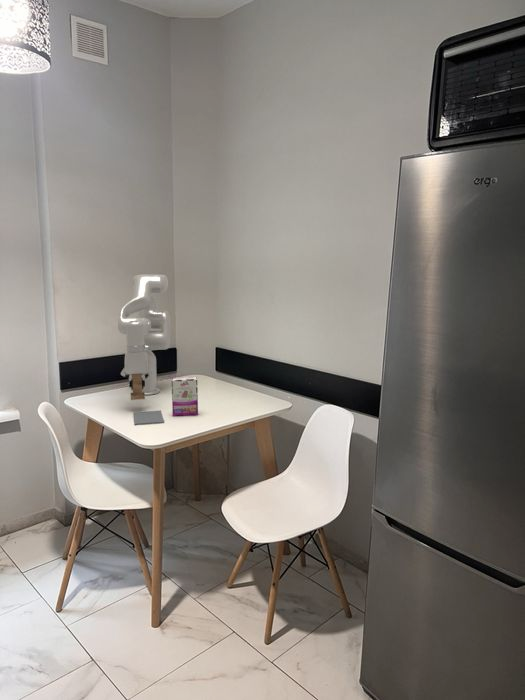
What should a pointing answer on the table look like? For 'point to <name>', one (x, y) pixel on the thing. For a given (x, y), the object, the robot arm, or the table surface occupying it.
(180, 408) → the candy bar box
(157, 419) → the mat
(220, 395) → the table surface
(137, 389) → the stepped wooden block
